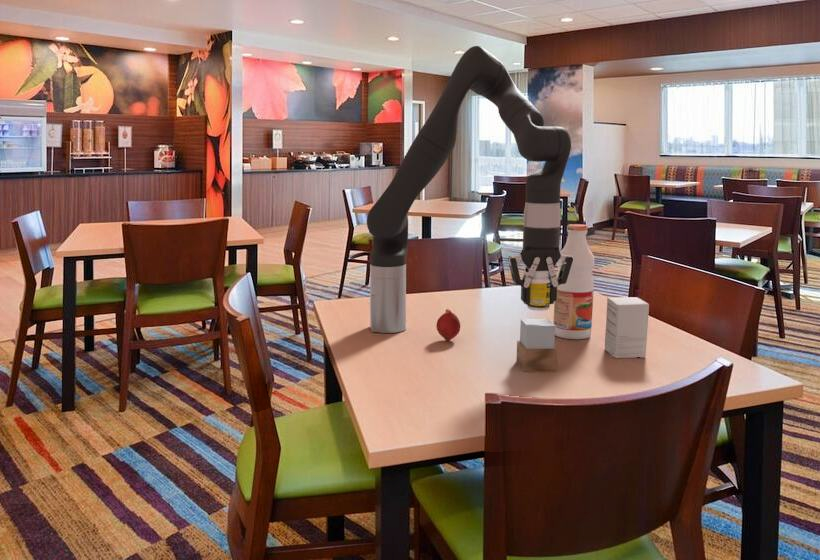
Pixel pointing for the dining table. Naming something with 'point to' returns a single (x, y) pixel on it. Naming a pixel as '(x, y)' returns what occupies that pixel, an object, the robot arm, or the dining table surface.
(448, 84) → the robot arm
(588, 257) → the fruit juice
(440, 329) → the onion
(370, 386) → the dining table surface
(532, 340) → the top block
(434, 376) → the dining table surface
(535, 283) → the supplement bottle
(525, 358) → the bottom block
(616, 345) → the supplement box
